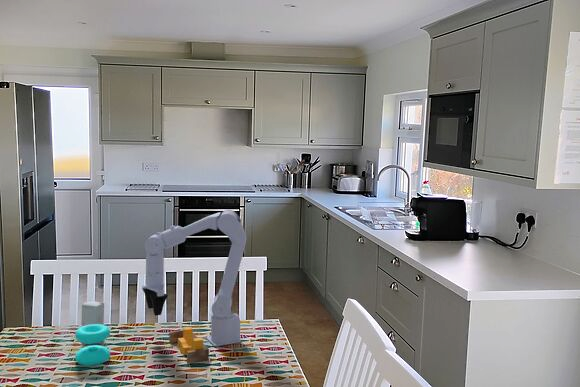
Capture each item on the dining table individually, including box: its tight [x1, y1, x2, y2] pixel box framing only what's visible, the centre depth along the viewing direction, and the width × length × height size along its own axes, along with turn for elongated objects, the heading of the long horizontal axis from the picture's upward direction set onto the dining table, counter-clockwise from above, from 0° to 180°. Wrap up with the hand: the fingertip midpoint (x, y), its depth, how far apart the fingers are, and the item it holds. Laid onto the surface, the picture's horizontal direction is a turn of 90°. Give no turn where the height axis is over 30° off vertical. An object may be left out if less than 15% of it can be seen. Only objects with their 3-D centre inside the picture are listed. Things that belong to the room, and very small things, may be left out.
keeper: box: [168, 329, 210, 364], centre depth 176 cm, size 7×19×4 cm, turn 29°
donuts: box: [74, 324, 111, 367], centre depth 166 cm, size 10×10×10 cm
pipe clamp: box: [177, 326, 204, 356], centre depth 174 cm, size 12×4×6 cm, turn 28°
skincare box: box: [80, 300, 105, 327], centre depth 183 cm, size 6×4×12 cm
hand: (154, 311), depth 182 cm, fingers open, 7 cm apart
